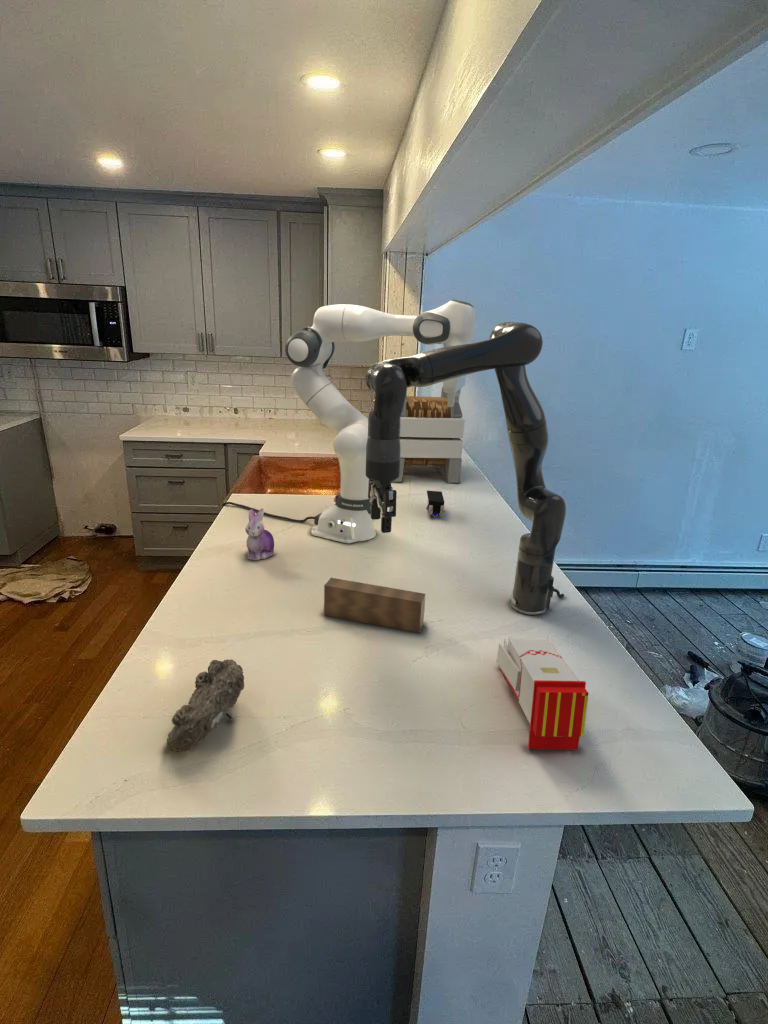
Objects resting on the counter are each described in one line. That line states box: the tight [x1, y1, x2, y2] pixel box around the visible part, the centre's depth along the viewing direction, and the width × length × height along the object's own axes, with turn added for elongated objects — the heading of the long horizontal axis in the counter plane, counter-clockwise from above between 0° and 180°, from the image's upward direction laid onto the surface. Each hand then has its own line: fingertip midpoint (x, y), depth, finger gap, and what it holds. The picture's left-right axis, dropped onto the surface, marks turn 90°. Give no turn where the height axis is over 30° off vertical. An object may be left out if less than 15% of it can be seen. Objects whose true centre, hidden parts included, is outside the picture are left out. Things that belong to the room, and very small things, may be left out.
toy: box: [496, 637, 589, 751], centre depth 115 cm, size 12×13×30 cm
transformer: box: [391, 386, 465, 484], centre depth 268 cm, size 34×33×41 cm
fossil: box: [166, 658, 245, 754], centre depth 106 cm, size 22×10×15 cm
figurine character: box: [426, 489, 445, 519], centre depth 220 cm, size 7×8×15 cm
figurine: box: [245, 508, 275, 561], centre depth 176 cm, size 9×10×15 cm
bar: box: [323, 577, 427, 634], centre depth 143 cm, size 25×5×8 cm, turn 74°
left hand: (453, 404), depth 174 cm, fingers open, 8 cm apart
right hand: (380, 525), depth 130 cm, fingers open, 8 cm apart
